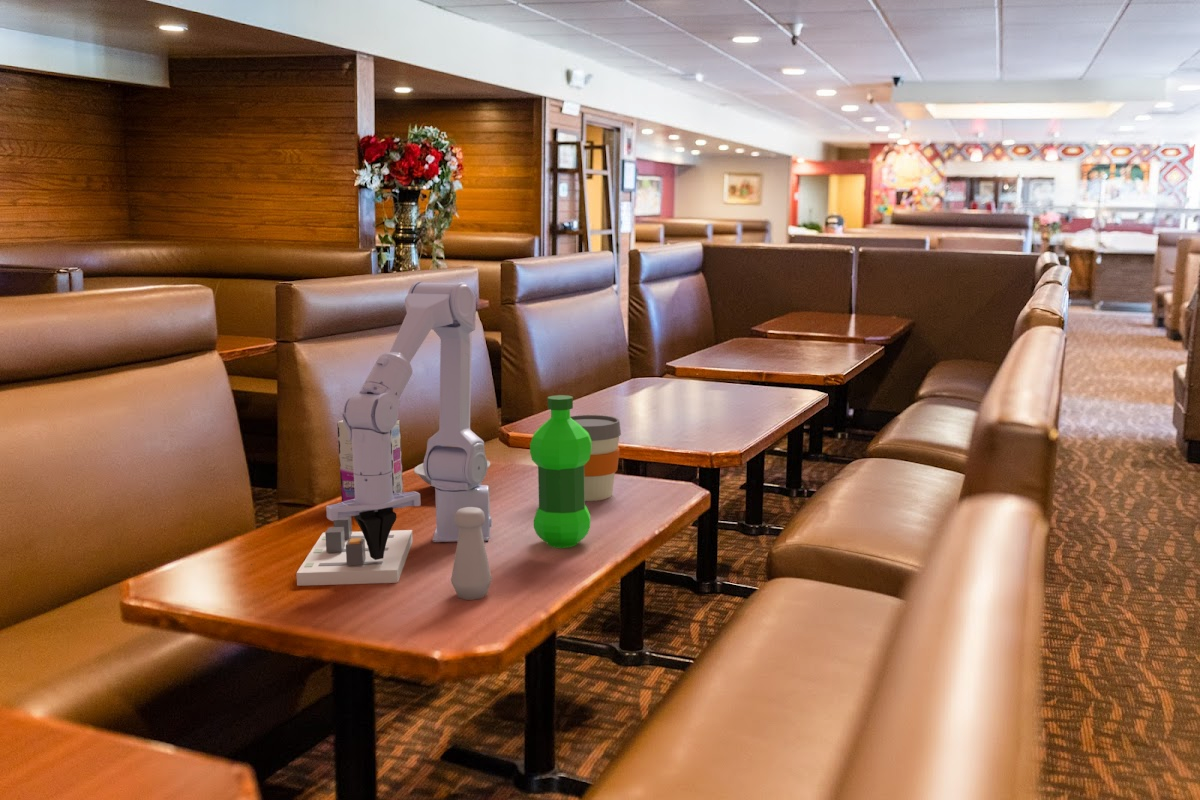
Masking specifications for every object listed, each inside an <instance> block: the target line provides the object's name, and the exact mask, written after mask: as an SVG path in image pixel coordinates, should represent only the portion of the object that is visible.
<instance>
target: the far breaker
mask: <svg viewBox="0 0 1200 800" xmlns="http://www.w3.org/2000/svg"><path fill="white" fill-rule="evenodd" d="M332 523H333V527H344V537H345V539H349V538H350V536H351V534H352V532H353V528H352V525H353V524H352V516H350V517H344V518H338V520H334V521H332Z"/></svg>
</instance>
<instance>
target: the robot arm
mask: <svg viewBox="0 0 1200 800" xmlns="http://www.w3.org/2000/svg"><path fill="white" fill-rule="evenodd" d="M476 296H477V295H476V294H475V293H474V291H473V290H472V288H471V286H470V285H469V284H468V283H466V282H464V281H463V282H462V281H461V282H424V281H415V282H413V284H411V286H410V288H409V290H408V293H407V295H406V296H405V299H404V305H405V311H406V315H405V316H404V319H403V321H402V323H401V325H400V327H399V331H398V332H397V335H396V337H395V340H394V342H393V344H392V346H391V348H390V351H389V352H387V353H386V352H385V353H382V354H380V355H379V356H378V358H377V359H376V361H375V363H374V365H373V367H372V368H371V370H370V372H369V374H368V376H367V378H366V379H365V382H364V383H363V385H362V387H361V389H360V390H359V392H356V393H355V394H352V395H351V396H350V397H348V398H347V400H346V401H345V403H344V407H343V413H341V420H343V423H344V425H345V426H346V428H347V430H348V439H350V441H351V442H352V450H353V470H354V489H355V499H351V500H348V501H344V502H342V501H341V502H338V503H335V504H329V505H326V507H325V510H326V518H327V519H328V520H329V521H331V522H333V521H334V520H338V518H344V517H350V516H351V517H353V518H354V520H355V521H356V523H357V525H358V526H359V528H360V531H362V533H363V535H364V537H365V540H366V542H367V545H368V549H369V553H370V557H371V558H373V559H375V560H378V559H382V558H383V557H384V551H385V546H386V542H387V539H388V536H389V533H390V531H392V528H393V526H394V524H395V523H396V520H397V512H395V511H394V510H395V509H401V508H407V507H408V508H409V507H411V506H413V507H420V506H421V504H422V503H421V493H419V492H418V491H405V492H403V493H393V483H392V460H391V437H390V430H392V428H393V427H394V425H395V424H396V423H397V419H399V407H400V406H401V400H400V399H401V396H402V394H403V392H404V390H405V388H406V387H407V385H408V382H409V381H410V379H411V377H412V375H413V368H412V366H411V361H412V360H413V358H414V357H415V355H416V354H417V352H418V351H419V349H420V348H421V346H422V344H423V343H424V341H425V340H426V338H427V337H428V335H429V334H430V333H431V331H432V330H433V331H434V333H436V335H437V336H438V337H439V339H440V351H439V352H440V354H439V356H440V359H439V360H440V363H439V420H438V423H439V426H438V427H439V429H438V430H437V432H435V433H434V434H433V435H432V436H431V437H429V438H428V439H427V441H426V452H425V455H424V457H423V458H424V459H423V462H422V463H423V468H424V473H425V475H426V477H427V479H428V480H430V481H431V485H430V486H431V487H434V490H435V491H434V492H435V493H434V494H435V521H436V527H435V531H434V534H433V537H432V542H433V543H443V542H444V543H445V542H449V543H451V542H458V536H459V530H460V527H459V526H457V525H456V523H455V513H456V512H457V511H458V510H459V509H461V508H465V507H476V508H480V509H481V510H482V511H483V512H484V515H485V522H484V524H483V525H481V529H482V534H483V539H484V542H486V541H489V540H490V533H491V528H492V522H493V521H492V516H491V515H490V514H491V513H490V512H491V511H490V510H491V509H490V505H491V504H490V486H489V485H487V484H482V482H483V481H484V479H485V478H486V476H487V471H488V468H487V460H488V459H487V456H486V450H485V441H484V440H483V439H482V438H481V437H479V435H477V434H476V433H475V432H474V431H472V429H471V402H472V401H471V398H472V397H471V396H472V394H471V393H472V392H471V391H472V346H473V339H472V338H473V332H474V331H475V330H476V318H477V317H476V313H477V307H476V306H477V297H476Z"/></svg>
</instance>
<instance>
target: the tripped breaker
mask: <svg viewBox="0 0 1200 800" xmlns="http://www.w3.org/2000/svg"><path fill="white" fill-rule="evenodd" d="M346 559H347V565H363V563H364V561H365V559H366V555H365V539H362V538H351V539H349V540H348V542H347V544H346Z"/></svg>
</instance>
